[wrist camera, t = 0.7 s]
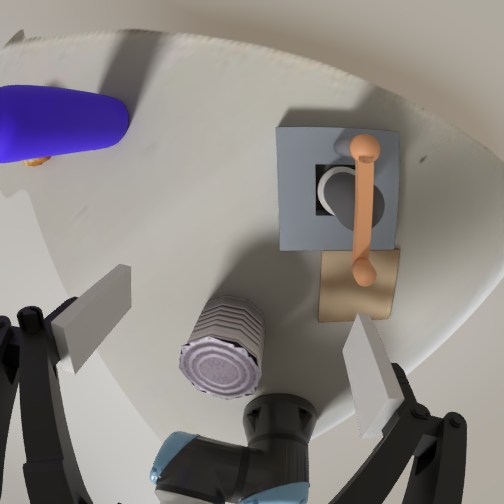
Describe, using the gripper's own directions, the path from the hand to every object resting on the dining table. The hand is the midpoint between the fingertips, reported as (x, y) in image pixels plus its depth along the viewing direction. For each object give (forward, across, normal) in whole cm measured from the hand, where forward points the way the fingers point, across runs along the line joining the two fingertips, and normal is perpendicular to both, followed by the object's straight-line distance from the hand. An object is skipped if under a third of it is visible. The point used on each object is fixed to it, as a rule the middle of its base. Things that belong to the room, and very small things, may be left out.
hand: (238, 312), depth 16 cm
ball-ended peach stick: (+13, +9, +5) cm, 17 cm away
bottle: (+26, -26, +10) cm, 38 cm away
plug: (+26, +9, +5) cm, 28 cm away
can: (+27, -2, -20) cm, 33 cm away
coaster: (+27, +16, -8) cm, 32 cm away
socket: (+26, +9, +5) cm, 28 cm away
